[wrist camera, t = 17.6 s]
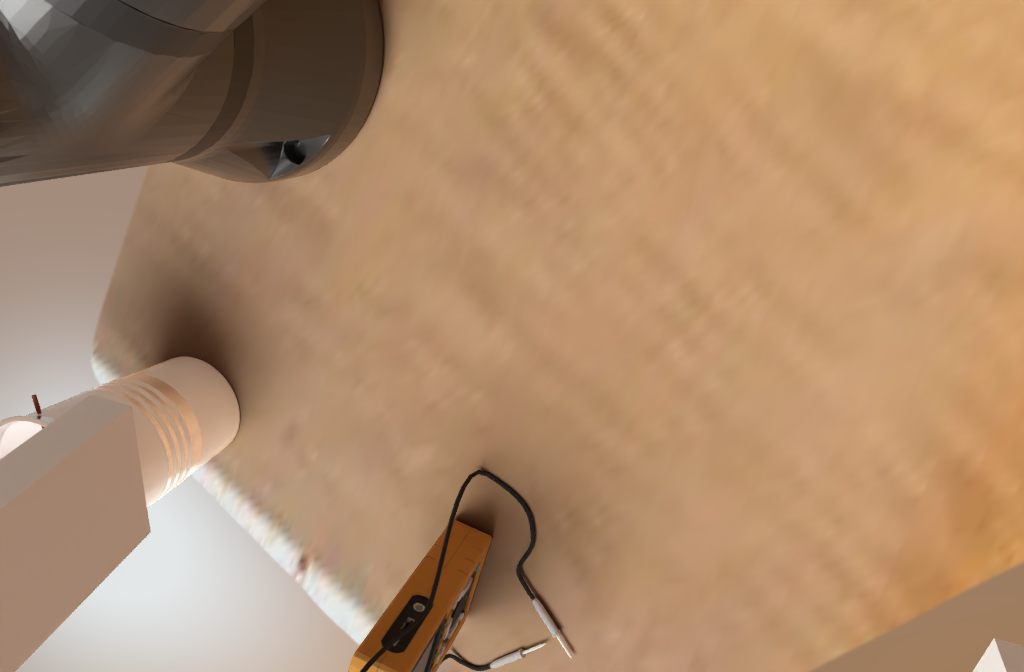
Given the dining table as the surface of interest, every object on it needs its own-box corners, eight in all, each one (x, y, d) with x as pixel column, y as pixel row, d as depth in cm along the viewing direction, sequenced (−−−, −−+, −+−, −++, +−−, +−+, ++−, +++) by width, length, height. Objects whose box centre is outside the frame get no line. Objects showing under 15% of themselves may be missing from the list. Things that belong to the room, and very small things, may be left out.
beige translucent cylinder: (127, 335, 51) (-44, 403, 41) (231, 331, 49) (76, 403, 38) (164, 470, 54) (13, 567, 43) (265, 473, 51) (130, 578, 41)
